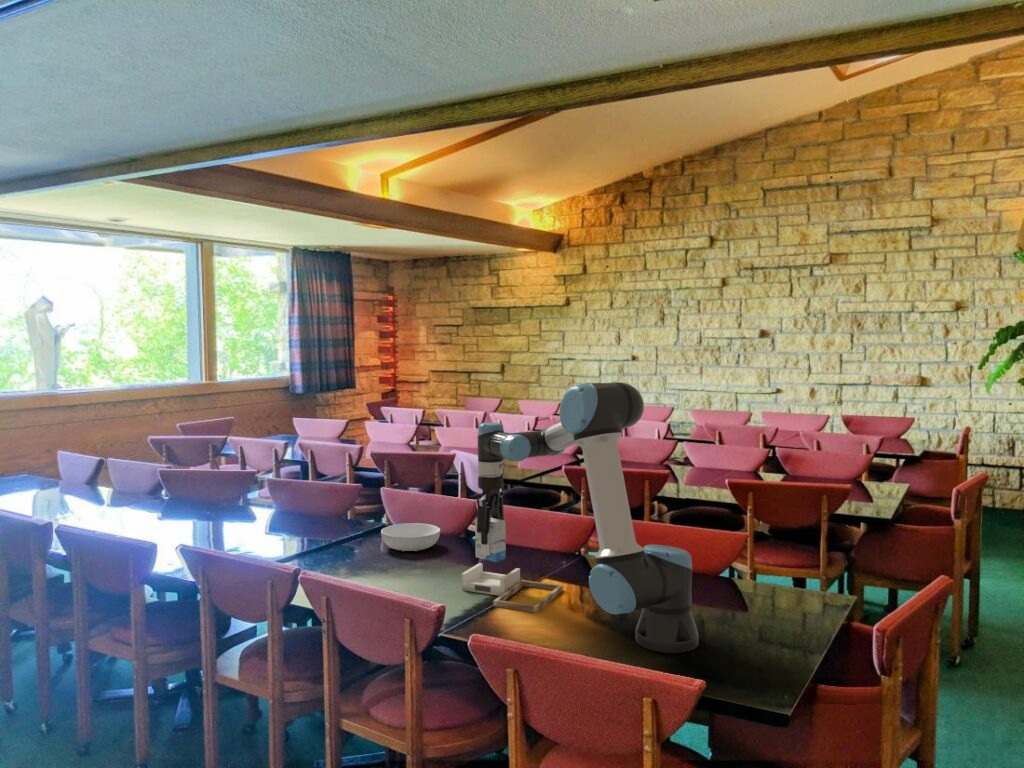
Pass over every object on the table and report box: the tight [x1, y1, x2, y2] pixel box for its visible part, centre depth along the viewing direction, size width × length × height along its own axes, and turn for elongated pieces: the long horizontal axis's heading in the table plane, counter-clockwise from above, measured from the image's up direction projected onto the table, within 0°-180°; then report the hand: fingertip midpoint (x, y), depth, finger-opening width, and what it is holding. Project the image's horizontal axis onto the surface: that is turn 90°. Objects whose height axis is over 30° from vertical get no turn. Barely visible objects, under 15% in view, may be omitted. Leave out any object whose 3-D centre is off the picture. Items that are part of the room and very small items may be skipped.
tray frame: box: [492, 579, 564, 614], centre depth 215 cm, size 20×13×2 cm, turn 156°
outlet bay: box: [461, 562, 521, 597], centre depth 224 cm, size 12×14×5 cm
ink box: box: [474, 518, 507, 563], centre depth 223 cm, size 9×5×12 cm, turn 49°
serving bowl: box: [380, 522, 441, 552], centre depth 267 cm, size 21×21×7 cm
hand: (490, 551), depth 224 cm, fingers closed on ink box, 6 cm apart
